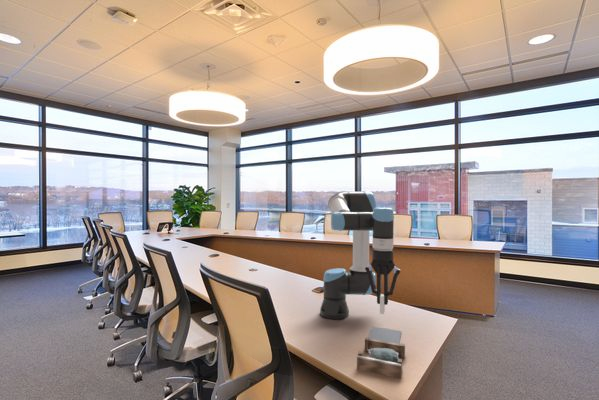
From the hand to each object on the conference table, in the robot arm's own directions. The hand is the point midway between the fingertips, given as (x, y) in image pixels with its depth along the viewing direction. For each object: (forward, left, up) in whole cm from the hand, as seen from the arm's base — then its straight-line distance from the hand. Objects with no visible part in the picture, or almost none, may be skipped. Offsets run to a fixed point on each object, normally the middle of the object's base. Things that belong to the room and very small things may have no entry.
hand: (382, 312), depth 116 cm
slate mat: (-2, +22, -18) cm, 29 cm away
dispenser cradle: (0, 0, -18) cm, 18 cm away
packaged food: (+4, +2, -20) cm, 20 cm away
